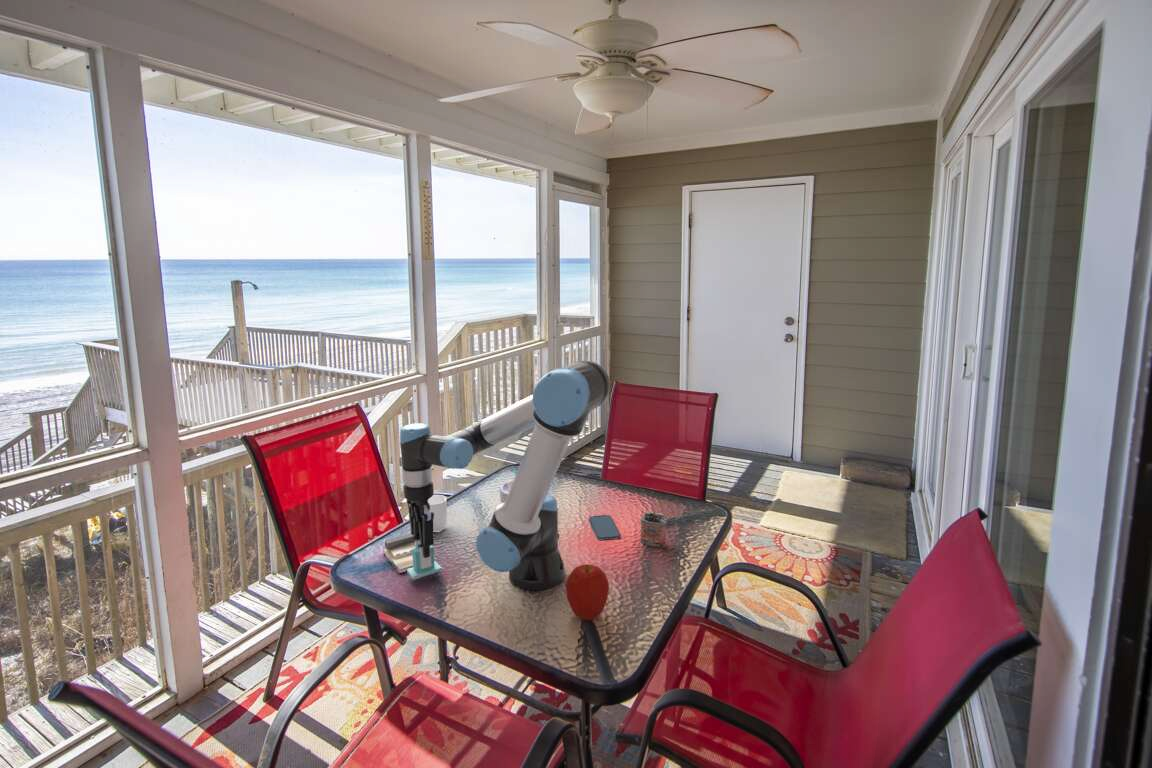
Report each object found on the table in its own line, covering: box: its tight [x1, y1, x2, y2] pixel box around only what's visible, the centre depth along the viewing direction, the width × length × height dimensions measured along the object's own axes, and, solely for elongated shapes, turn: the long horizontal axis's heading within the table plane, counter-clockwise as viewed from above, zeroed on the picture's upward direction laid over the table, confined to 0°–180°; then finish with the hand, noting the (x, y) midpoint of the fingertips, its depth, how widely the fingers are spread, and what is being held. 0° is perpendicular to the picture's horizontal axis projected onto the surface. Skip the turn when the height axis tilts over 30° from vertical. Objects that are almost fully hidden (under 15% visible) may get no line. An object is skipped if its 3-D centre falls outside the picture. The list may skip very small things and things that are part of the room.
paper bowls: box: [499, 479, 514, 504], centre depth 204 cm, size 15×15×8 cm
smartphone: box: [588, 514, 621, 541], centre depth 188 cm, size 8×2×15 cm
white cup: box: [428, 494, 448, 532], centre depth 188 cm, size 8×8×10 cm
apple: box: [565, 563, 610, 621], centre depth 140 cm, size 10×10×14 cm
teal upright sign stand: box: [406, 545, 443, 580], centre depth 159 cm, size 5×8×7 cm, turn 126°
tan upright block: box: [639, 510, 667, 548], centre depth 177 cm, size 8×3×10 cm, turn 62°
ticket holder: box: [382, 533, 416, 570], centre depth 169 cm, size 14×10×4 cm
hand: (423, 564), depth 159 cm, fingers closed on teal upright sign stand, 2 cm apart
